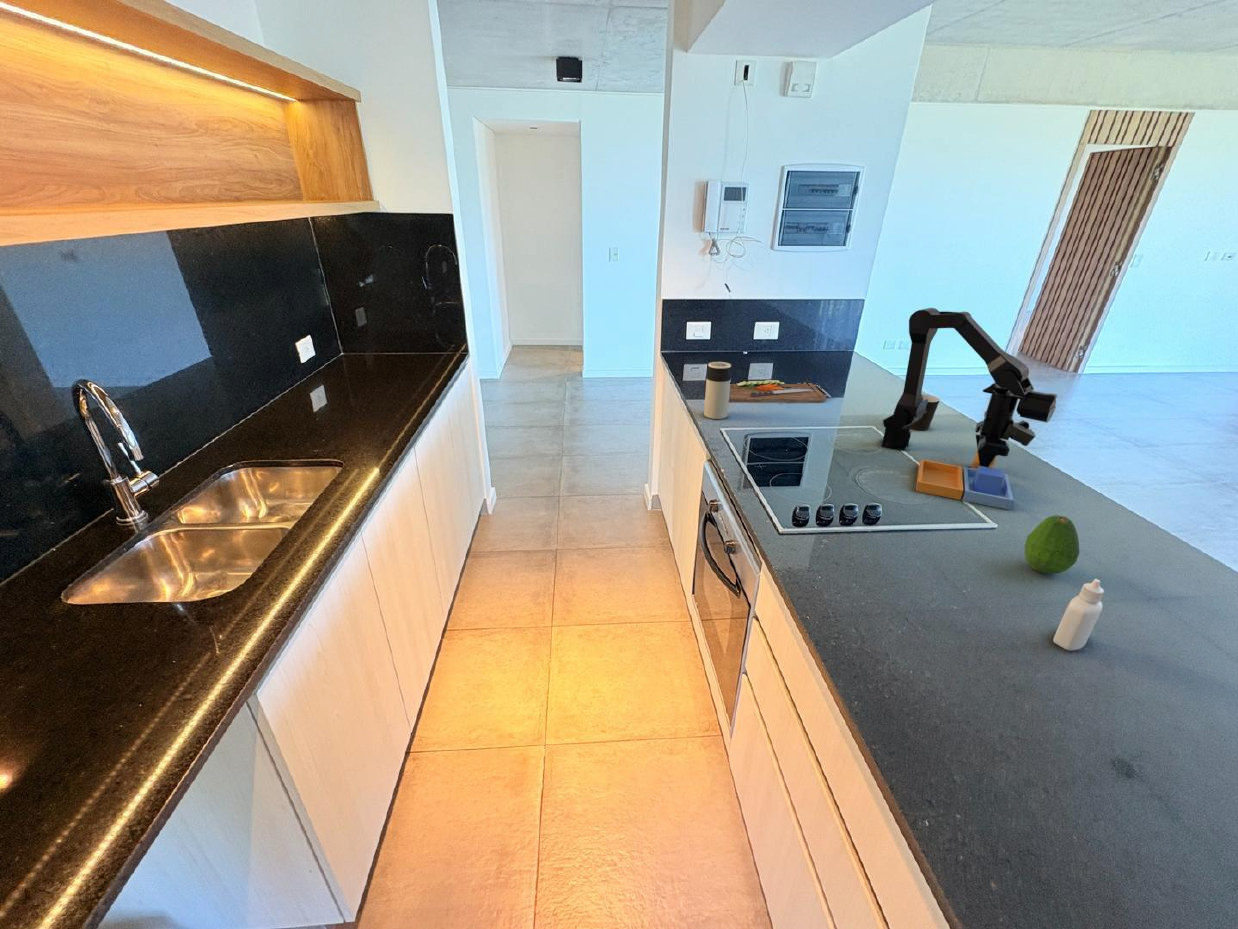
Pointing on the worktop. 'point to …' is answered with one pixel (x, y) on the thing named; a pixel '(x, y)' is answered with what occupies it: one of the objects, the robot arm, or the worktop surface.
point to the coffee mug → (928, 416)
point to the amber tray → (940, 479)
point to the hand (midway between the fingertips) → (982, 467)
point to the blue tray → (999, 501)
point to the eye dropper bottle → (1080, 617)
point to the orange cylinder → (976, 463)
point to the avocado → (1052, 545)
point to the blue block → (988, 480)
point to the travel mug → (717, 390)
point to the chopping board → (775, 392)
